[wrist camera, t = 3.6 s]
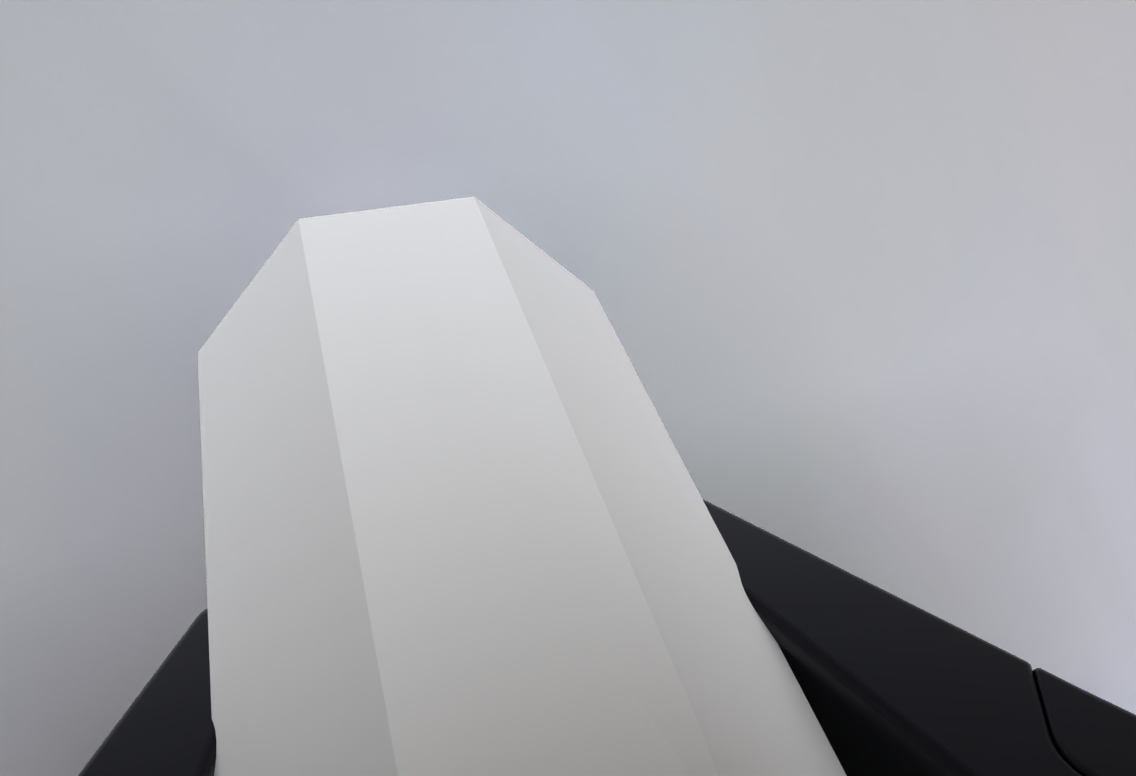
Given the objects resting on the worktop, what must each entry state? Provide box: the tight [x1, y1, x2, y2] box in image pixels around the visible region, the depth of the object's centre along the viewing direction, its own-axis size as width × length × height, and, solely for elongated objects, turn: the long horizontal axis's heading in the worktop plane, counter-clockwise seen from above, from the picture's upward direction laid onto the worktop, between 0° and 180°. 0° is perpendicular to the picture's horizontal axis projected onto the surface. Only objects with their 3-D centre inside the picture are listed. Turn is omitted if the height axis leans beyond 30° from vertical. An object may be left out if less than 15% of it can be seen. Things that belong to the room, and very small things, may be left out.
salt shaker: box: [198, 197, 847, 776], centre depth 7 cm, size 5×5×11 cm
